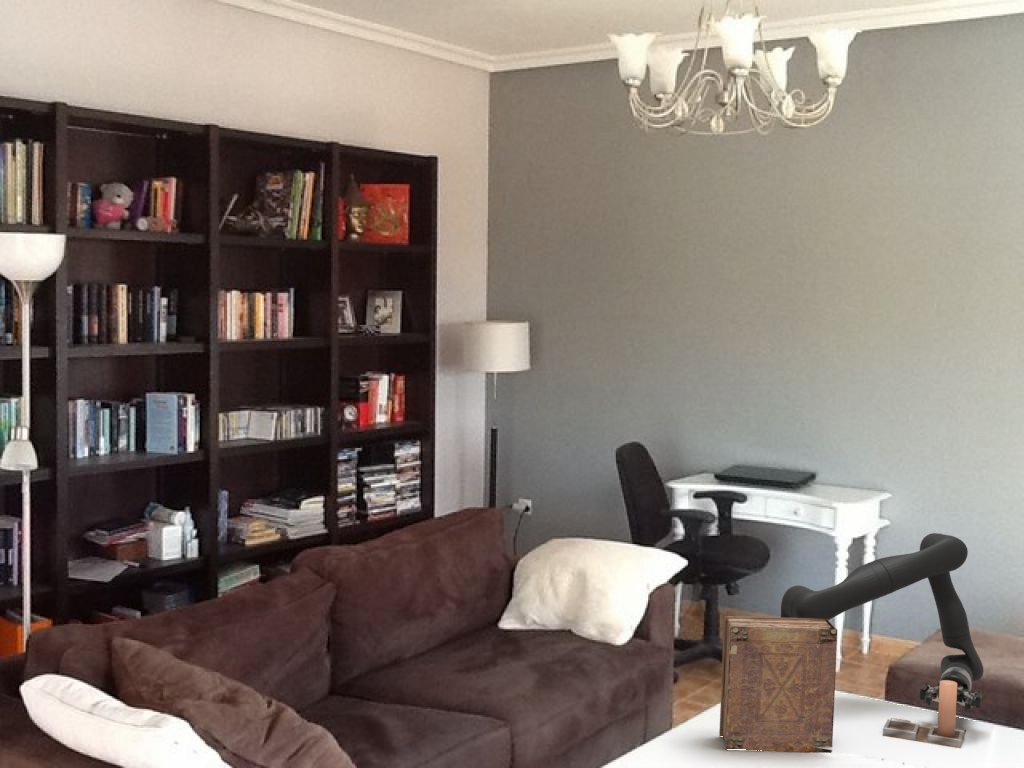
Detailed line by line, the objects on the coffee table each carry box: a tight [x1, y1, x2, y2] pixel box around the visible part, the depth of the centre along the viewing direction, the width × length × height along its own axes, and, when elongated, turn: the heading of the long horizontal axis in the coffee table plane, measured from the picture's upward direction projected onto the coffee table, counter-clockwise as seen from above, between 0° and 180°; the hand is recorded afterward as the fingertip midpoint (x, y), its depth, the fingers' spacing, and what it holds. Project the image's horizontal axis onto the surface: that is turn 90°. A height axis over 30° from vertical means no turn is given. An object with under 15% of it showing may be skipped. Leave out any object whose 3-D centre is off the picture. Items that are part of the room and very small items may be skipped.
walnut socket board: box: [882, 717, 967, 749], centre depth 311 cm, size 18×14×3 cm
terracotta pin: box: [937, 680, 957, 739], centre depth 306 cm, size 4×4×14 cm
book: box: [718, 615, 838, 754], centre depth 304 cm, size 25×9×30 cm, turn 89°
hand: (947, 704), depth 306 cm, fingers open, 8 cm apart
